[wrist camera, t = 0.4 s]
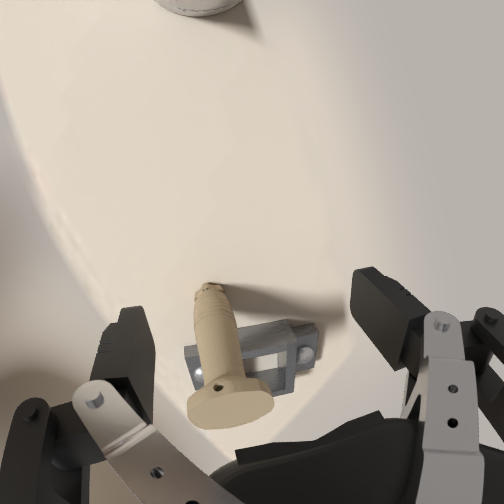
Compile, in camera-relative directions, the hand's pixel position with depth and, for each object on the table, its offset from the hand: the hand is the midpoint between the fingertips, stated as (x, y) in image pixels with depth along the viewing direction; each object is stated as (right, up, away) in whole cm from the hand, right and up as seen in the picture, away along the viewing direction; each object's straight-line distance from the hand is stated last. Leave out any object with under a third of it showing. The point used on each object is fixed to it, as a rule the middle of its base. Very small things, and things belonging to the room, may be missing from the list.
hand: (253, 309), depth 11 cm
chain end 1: (-2, -12, +28) cm, 30 cm away
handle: (-5, -2, +22) cm, 23 cm away
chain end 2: (+2, -11, +28) cm, 30 cm away
